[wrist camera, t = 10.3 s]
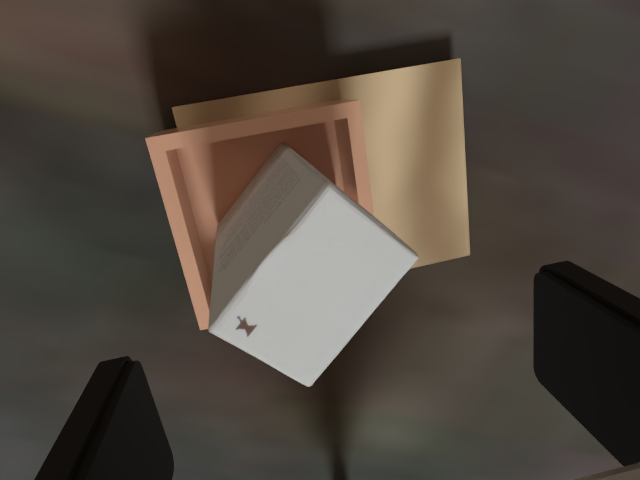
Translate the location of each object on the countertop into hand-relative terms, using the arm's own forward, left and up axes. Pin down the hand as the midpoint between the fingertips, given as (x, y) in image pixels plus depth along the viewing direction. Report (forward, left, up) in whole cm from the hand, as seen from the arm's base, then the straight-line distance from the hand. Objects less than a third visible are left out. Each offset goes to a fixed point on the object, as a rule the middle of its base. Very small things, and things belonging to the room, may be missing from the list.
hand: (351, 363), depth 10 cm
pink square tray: (+1, 0, -17) cm, 16 cm away
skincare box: (0, 0, -16) cm, 16 cm away
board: (-3, 0, -18) cm, 18 cm away
